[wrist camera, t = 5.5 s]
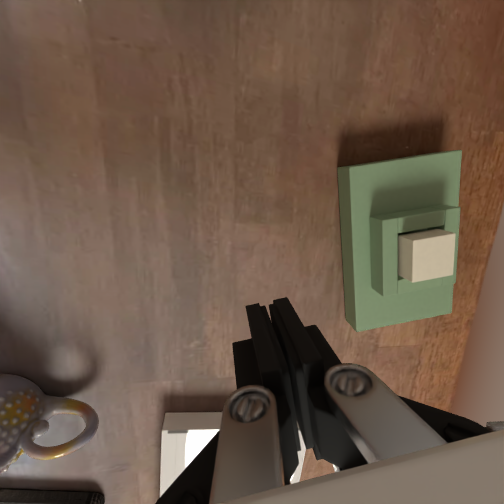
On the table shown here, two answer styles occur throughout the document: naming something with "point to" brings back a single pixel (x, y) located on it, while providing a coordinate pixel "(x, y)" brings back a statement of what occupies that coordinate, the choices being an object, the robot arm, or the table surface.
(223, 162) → the table surface
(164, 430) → the book
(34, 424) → the mug
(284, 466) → the robot arm
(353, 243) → the green block
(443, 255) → the ivory key
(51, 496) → the phone
